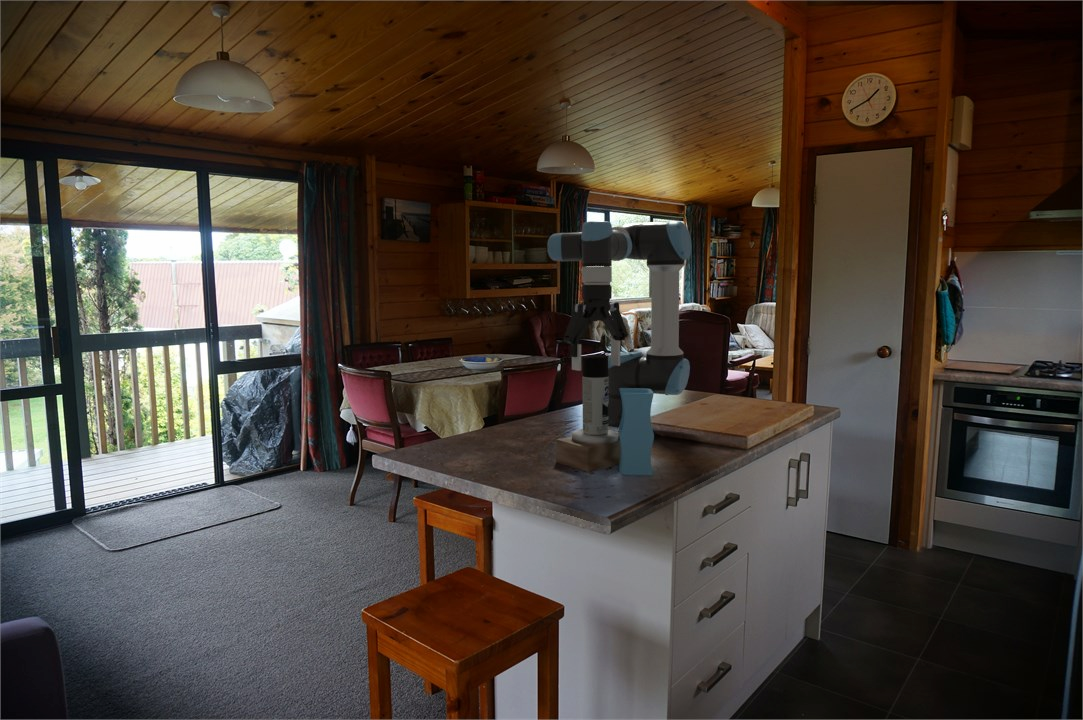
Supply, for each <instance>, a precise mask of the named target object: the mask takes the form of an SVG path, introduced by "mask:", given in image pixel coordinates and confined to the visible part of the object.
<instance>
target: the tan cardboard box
mask: <svg viewBox="0 0 1083 720" xmlns="http://www.w3.org/2000/svg"><path fill="white" fill-rule="evenodd" d="M555 442H556V443H555V444H556V449H555V453H556V454H555V455H556V456H555V458H556V459H555V460H556V463H557V464H560V465H564V466H567V467H570V468H574V469H578V470H579V471H583V472H586V473H589V472H594V471H599V470H602V469H607V468H611V467H615V466H619V462H620V453H621V447H620V438H619V432H618V431H615V430H613V429H608V433H607V434H606V435H601V436H591V435H585V434H584V433H583V428H582V429H577V430H576V429H575V430H574V431H572V432H571V436H568V437H563V438H557V439H556V440H555Z"/></svg>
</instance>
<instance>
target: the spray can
mask: <svg viewBox="0 0 1083 720" xmlns="http://www.w3.org/2000/svg"><path fill="white" fill-rule="evenodd" d="M608 357H609V356H607V355H598V354H596V355H595V354H594V355H593V354H590V355H583V356H582V366H581V371H582V375H581V376H582V381H581V382H582V429H583V433H584V434H585V435H591V436H601V435H606V434H607V433H608V430H609V425H608V388H609V387H608V384H609V374H608Z"/></svg>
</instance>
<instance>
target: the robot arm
mask: <svg viewBox="0 0 1083 720" xmlns="http://www.w3.org/2000/svg"><path fill="white" fill-rule="evenodd" d="M691 239H692V237H691V234H690V231H689V229H688V227H687V225H686V223H684V222H682V221H679V220H678V221H676V220H668V221H667V220H665V221H647V222H645V221H644V222H634V223H629V224H624V225H619V226H613V225H612V222H610V221H605V220H604V221H601V220H597V221H596V220H593V221H592V220H591V221H585V222H584V223H583V224H582V226H581V232H580V231H579V232H578V231H576V232H560V233H553V234H552V235H550V236H549V238H548V240H547V244H546V245H547V254H548V256H549V258H550V259H551V260H552V261H553V262H580V261H581V283H583V284H582V286H581V299H582V300H583V303H573V305H572V306H573V307H572V314H571V316H570V319H569V322H568V324H567V327H566V331H565V332H564V336H563V339H562V341H563V342H565V343H566V344H569V356H570V358H571V370H572V371H578V372H581V371H582V344H581V343H580V342H581V339H582V338H583V336H584V335H585V333H586V332H587V329H589V327H590V325H591V324H592V323H593V322H599V321H601V322H602V323H603V324H604V326H605V328H606V329H607V332H609V334H610V335H611V337H612V339H611V340H610V355H609V356H607V357H608V374H609V384H608V387H609V388H608V426H611V427H619V425H620V422H621V418H622V411H623V407H622V399H621V394H620V390H619V388H646V389H651V390H652V391H653V392H654V395H655V394H657V395H665V396H679V395H681V394H682V393H683V392H684V390H685V389H686V387H687V385H688V380H689V377H690V372H691V371H690V370H691V369H690V368H691V365H690V361H689V360H688V358H684V351H683V350H682V349H681V348H680V347H679V345H680V344H679V342H680V341H679V340H680V337H679V335H680V334H679V332H680V330H679V329H680V272H681V269H682V268H684V266H685V261H686V260H689V259H690V257H691V255H692V254H691V252H692V240H691ZM625 259H628V260H636V261H637V260H638V261H646V267H647V268H648V269H649V270H650V271H651V287H650V288H651V291H650V294H651V299H650V301H651V303H650V306H651V308H650V311H651V312H650V314H651V316H650V317H651V318H650V319H651V320H650V322H651V325H650V328H651V330H650V337H651V338H650V343H651V344H650V348H649V349H648V350H647V351H646V353H645V356H644V354H643V352H642V351H631V352H630V351H629V352H623V353H622V348H623V347H622V341H625V340H626V338H627V337H628V335H629V334H628V330H627V328H626V325H625V322H624V320H623V316H622V314H621V313H622V312H621V311H620V303H619V302H615V301H610V300H611V299H612V292H613V291H612V286H613V285H611V284H610V283H612V281H613V276H612V275H613V274H612V273H613V271H612V270H613V268H612V267H613V266H612V265H613V264H612V262H616V261H617V262H619V261H620V262H621V261H622V260H625Z"/></svg>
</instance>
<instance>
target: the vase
mask: <svg viewBox="0 0 1083 720" xmlns="http://www.w3.org/2000/svg"><path fill="white" fill-rule="evenodd" d="M619 390H620V394H621V399H622V407H623V411H622V418H621V422H620V425H619V426H618V428H617V429H618V430H617V433H619V438H620V447H621V453H620V462H619V465H618V471H619V474H620V475H624V476H653V475H654V474H653V468H652V449H653V444H654V439H655V433H654V431H653V426H652V419H651V416H652V415H651V413H652V411H651V409H652V405H653V404H652V402H653V398H654V396H655V394H654V392H653V391H652V390H651V389H646V388H619Z"/></svg>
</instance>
